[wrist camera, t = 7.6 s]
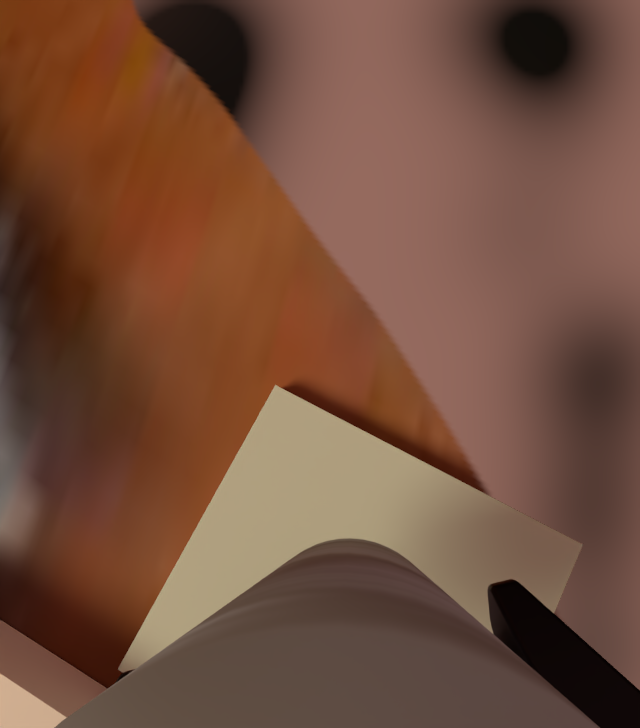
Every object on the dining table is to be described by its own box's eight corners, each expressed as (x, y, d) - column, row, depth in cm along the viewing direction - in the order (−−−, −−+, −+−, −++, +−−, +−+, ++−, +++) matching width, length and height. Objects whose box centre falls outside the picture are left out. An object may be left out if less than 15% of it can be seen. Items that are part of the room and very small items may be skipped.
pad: (439, 861, 19) (443, 876, 18) (126, 663, 21) (117, 669, 20) (574, 543, 21) (583, 544, 20) (278, 389, 23) (275, 385, 22)
